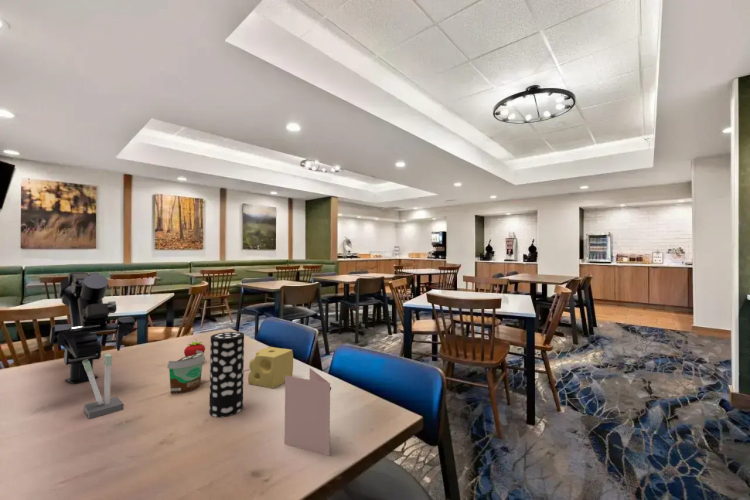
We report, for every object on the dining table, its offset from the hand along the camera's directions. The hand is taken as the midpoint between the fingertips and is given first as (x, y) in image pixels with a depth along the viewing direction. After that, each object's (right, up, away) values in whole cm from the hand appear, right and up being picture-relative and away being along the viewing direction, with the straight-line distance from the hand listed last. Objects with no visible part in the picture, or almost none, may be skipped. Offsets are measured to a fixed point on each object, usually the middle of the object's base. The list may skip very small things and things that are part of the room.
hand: (98, 353), depth 93 cm
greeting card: (+64, -14, -22) cm, 69 cm away
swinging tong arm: (+6, -12, -5) cm, 14 cm away
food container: (+21, -14, +9) cm, 27 cm away
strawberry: (+10, -14, +32) cm, 36 cm away
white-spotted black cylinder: (+39, -14, -5) cm, 41 cm away
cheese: (+44, -14, +16) cm, 49 cm away
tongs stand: (+6, -13, -5) cm, 16 cm away
